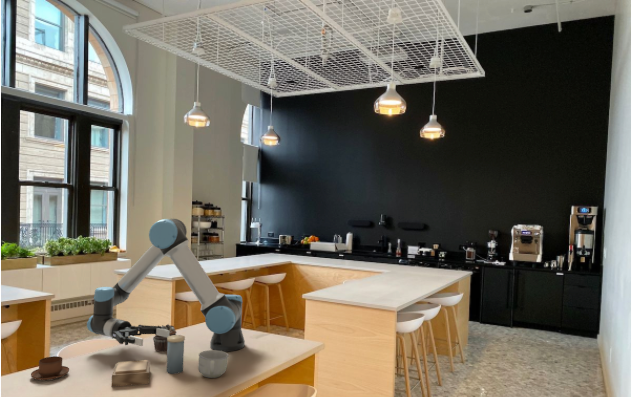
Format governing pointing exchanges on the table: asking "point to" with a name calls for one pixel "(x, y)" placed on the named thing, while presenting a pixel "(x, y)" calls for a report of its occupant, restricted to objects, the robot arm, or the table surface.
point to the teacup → (212, 363)
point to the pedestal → (131, 373)
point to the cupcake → (163, 338)
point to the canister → (175, 354)
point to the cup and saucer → (50, 369)
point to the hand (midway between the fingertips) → (156, 338)
